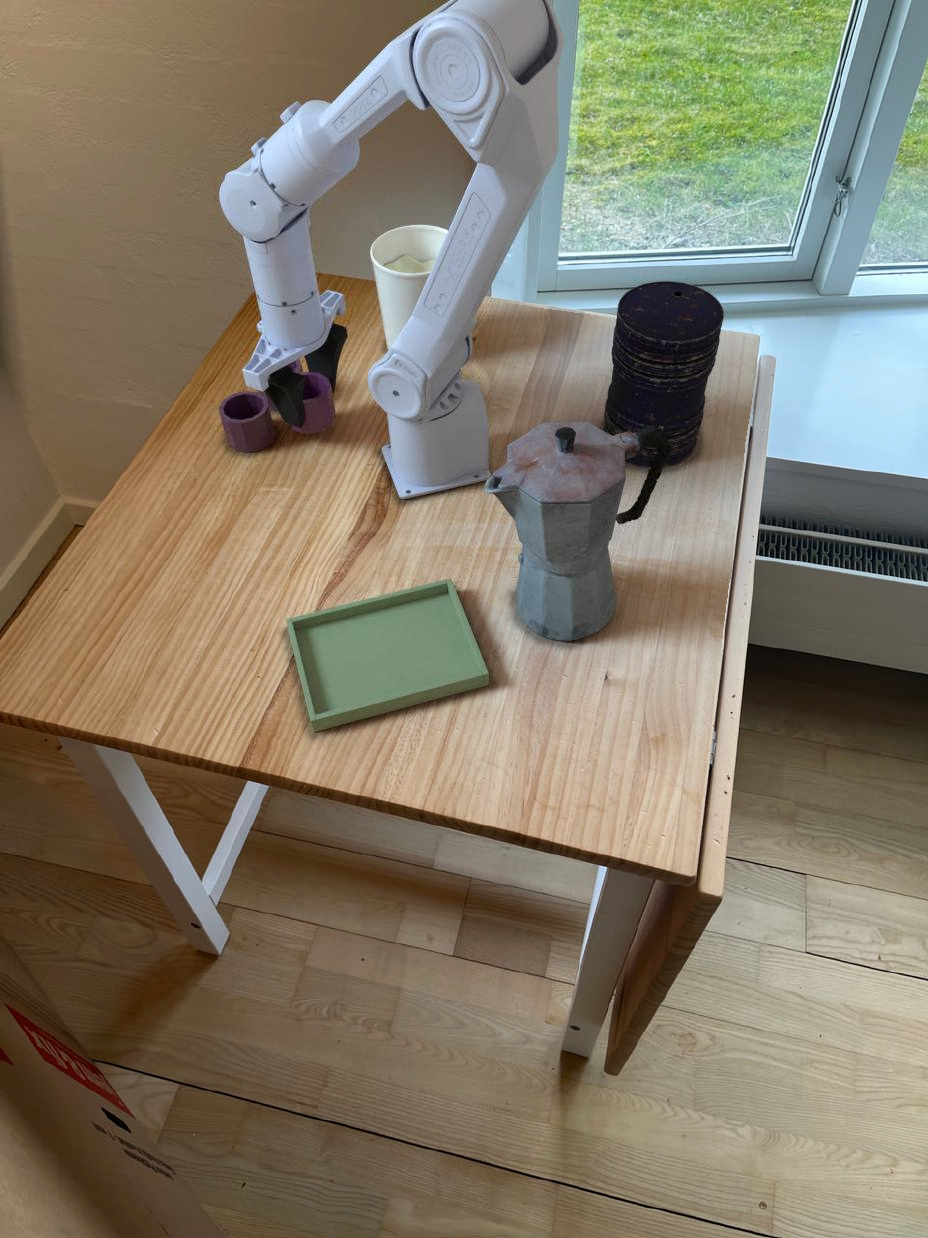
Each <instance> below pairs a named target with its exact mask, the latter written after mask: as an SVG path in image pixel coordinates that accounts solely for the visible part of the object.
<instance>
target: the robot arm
mask: <svg viewBox="0 0 928 1238" xmlns="http://www.w3.org/2000/svg"><path fill="white" fill-rule="evenodd" d="M564 44H565V35H564V33H563V30H562V28H561V25H560V22H559V20H558V17H557V15H556V12H555V9H554V7H553V4H552V2H551V0H448V1H447V2H445V3H444V4H442V5H441V6H439V7H438V8H436V9H434V10H433V11H432V12H430V13H429V14H427V15H426V16H424V17H423V18H421V19H420V20H418V21H416V23H414V24H413V25H411V26H410V27H408V28H407V29H406V30H405V31H403V32H402V33H401V34H400V35H398V36H397V37H395V38H394V39H393V40H391V41H390V42H389V43H388V44H387V45H386V46H385V47H384V48H383V49H382V50H381V51H380V53H378V54H377V56H375V58H373V59H372V61H370V62H369V64H368V65H366V67H365V68H364V69H363V70H362V71H361V72H360V73H359V74H358V76H356V78H355V79H354V80H352V82H351V83H349V85H348V86H347V87H346V88H345V89H344V90H343V91H342V92H340V94H339V95H338V96H337V97H336V99H334V100H333V101H332V102H331V103H330V102H329V101H325V100H320V99H312V100H308V101H306V102H304V103H303V104H301V103H300V102H299V101H295V102H294V103H292V104H291V105H290V106H288V107H287V108H286V109H285V110H284V111H283V112H282V113H281V114H279V115H280V116H279V118H280V120H281V121H282V122H283V124H282V125H281V126H280V127H279V128H278V129H277V130H276V131H275V132H274V133H273V134H272V135H271V136H270V137H269V138H268V139H267V138H266V137H262V138H260V139H259V140H257V141H256V142H255V143H254V144H253V145H252V146H251V148H250V150H251V152H252V154H253V156H252V157H250V158H249V159H248V160H246V161H245V162H244V163H242V164H241V165H240V166H239V167H237V168H236V169H234V170H231V171H228V172H227V173H226V174H225V176H224V179H223V181H222V183H221V185H220V188H219V193H218V195H219V196H218V197H219V203H220V207H221V209H222V212H223V215H224V216H225V218H226V220H227V221H228V223H229V224H230V225H231V226H232V227H233V229H234V230H235V231H237V233H239V234H240V235H242V240H243V243H244V248H245V252H246V257H247V261H248V264H249V269H250V273H251V274H250V275H251V278H252V282H253V287H254V291H255V296H256V300H257V304H258V310H259V313H260V318H261V319H260V320H259V322H258V323H256V328H257V332H258V333H260V334H261V336H260V337H259V340H258V342H257V344H256V346H255V349H254V351H253V353H252V355H251V358H250V359H249V361H248V362H247V364H246V365H245V366H244V367H243V368H242V370H241V371H242V374H243V379H244V383H245V386H246V387H248V388H251V389H252V390H255V391H258V392H259V391H262V392H263V391H264V392H265V393H266V394H267V395H268V396H269V398H270V399H271V400H272V402H273V403H274V405H275V406H276V408H277V410H278V411H277V412H278V413H279V415H280V417H281V418H282V421H283V422H284V424H287V425H288V426H290V425H292V426H295V427H298V428H301V427H302V426H303V425H304V421H305V415H304V407H303V388H304V383H305V380H306V377H307V376H305V375H302V374H298V373H295V372H292V368H291V367H288V364H290V363H292V362H294V361H296V360H298V359H302V358H303V357H304V359H305V362H306V366H307V369H308V372H316V373H321V374H322V375H324V376H326V377H327V378H328V379H329V381H330V384H331V388H332V393H333V394H334V393H335V391H336V385H337V384H336V383H337V376H338V367H339V362H340V358H341V355H342V351H343V349H344V347H345V344H346V342H347V339H348V336H349V335H348V329H347V327H345V326H344V325H342V324H338V323H335V318H336V316H339V317H340V316H342V315H344V314H345V313H346V312H347V307H346V300H345V294H344V293H341V292H338V291H333V290H331V289H326V290H325V291H324V292H323V293H322V294H320V291H319V285H318V280H317V279H318V278H317V274H316V269H315V262H314V256H313V250H312V245H311V237H310V232H309V227H310V226H311V217H310V211H311V207H312V206H313V204H314V203H315V202H316V201H317V200H318V199H320V198H321V197H323V195H324V194H326V193H327V192H328V191H329V190H331V189H332V188H333V187H334V186H335V185H336V184H337V183H339V182H340V181H341V180H342V179H343V178H344V177H346V176H347V175H348V174H350V172H352V171H353V170H354V169H355V168H356V166H357V165H358V163H359V159H360V151H361V149H360V148H361V147H360V141H359V140H361V138H363V137H364V136H365V135H366V134H367V133H369V132H370V131H371V130H372V129H374V128H375V127H376V126H377V125H378V124H380V123H381V122H382V121H384V120H385V119H386V118H387V117H389V115H391V114H392V113H393V112H394V111H396V110H397V109H398V108H399V107H401V106H402V105H403V104H405V103H406V102H407V101H410V102H411V104H413V105H414V106H415V107H417V108H418V110H420V111H428V109H430V108H431V107H432V108H433V109H434V110H435V112H436V113H437V114H438V116H439V117H440V118H441V119H442V121H443V122H444V123H445V126H447V127H448V129H449V130H450V131H451V132H452V134H453V135H454V137H455V138H456V139H457V140H458V142H459V143H460V144H461V145H462V147H463V148H464V149H465V151H466V152H467V154H469V156H470V157H471V159H472V160H473V161H474V162H475V163H477V164H476V167H475V169H474V170H473V173H472V176H471V178H470V180H469V182H468V184H467V187H466V189H465V191H464V194H463V196H462V199H461V201H460V203H459V206H458V208H457V210H456V212H455V215H454V217H453V219H452V222H451V224H450V226H449V229H448V233H447V235H446V238H445V240H444V242H443V244H442V247H441V249H440V251H439V254H438V256H437V258H436V261H435V263H434V265H433V267H432V270H431V272H430V274H429V277H428V279H427V281H426V284H425V286H424V288H423V291H422V293H421V295H420V297H419V300H418V302H417V304H416V307H415V309H414V311H413V314H412V315H411V317H410V319H409V320H408V322H407V323H406V325H405V326H404V328H403V329H402V331H401V332H400V334H399V335H398V337H397V338H396V340H395V341H394V343H393V345H392V346H391V348H390V349H389V350H388V349H387V351H386V353H385V354H384V355H383V356H382V357H381V358H380V359H379V360H378V361H375V362H374V364H372V366H371V367H370V369H369V371H368V373H367V386H368V390H369V392H370V394H371V396H372V398H373V399H374V401H375V402H376V404H377V405H378V406H379V407H380V408H381V409H382V410H383V411H384V413H386V416H387V425H388V435H389V442H390V443H389V444H385V445H383V446H381V453H382V455H383V458H384V461H385V463H386V466H387V468H388V471H389V473H390V476H391V479H392V481H393V484H394V487H395V489H396V493H397V494H398V497H399V498H400V499H401V500H406V499H412V498H416V497H419V496H424V495H428V494H433V493H438V492H442V491H446V490H451V489H454V488H458V487H463V486H467V485H473V484H476V483H480V482H486V481H487V480H488V479H489V478H490V477H491V476H492V472H491V471H490V453H489V452H490V449H489V448H490V446H489V445H490V442H489V441H490V440H489V439H490V436H489V433H490V432H489V417H488V411H487V410H488V409H487V406H486V402H485V397H484V395H483V392H482V390H481V387H480V385H479V383H478V382H477V381H476V380H475V379H467V380H466V379H462V368H463V367H464V366H465V365H466V364H468V362H469V361H470V359H471V357H472V354H473V349H474V347H473V333H474V330H475V328H476V325H477V324H478V319H477V318H476V316H477V314H478V311H479V309H480V308H481V305H482V304H483V302H484V300H485V298H486V297H487V295H488V292H489V290H490V288H491V287H492V285H493V282H494V281H495V278H496V276H497V275H498V273H499V271H500V269H501V268H502V265H503V263H504V261H505V259H506V258H507V256H508V253H509V251H510V249H511V248H512V245H513V243H514V242H515V240H516V237H517V236H518V234H519V232H520V230H521V228H522V226H523V224H524V223H525V220H526V218H527V216H528V214H529V213H530V210H531V209H532V207H533V205H534V203H535V201H536V199H537V197H538V195H539V193H540V192H541V189H542V187H543V185H544V183H545V181H546V179H547V177H548V176H549V174H550V172H551V170H552V168H553V166H554V164H555V162H556V159H557V156H558V153H559V147H560V141H559V140H560V138H559V82H558V79H559V78H558V77H559V75H558V72H559V67H560V61H561V57H562V54H563V53H562V52H563V49H564Z"/></svg>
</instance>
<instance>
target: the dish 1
mask: <svg viewBox="0 0 928 1238" xmlns="http://www.w3.org/2000/svg"><path fill="white" fill-rule="evenodd" d="M218 413H219V417H220V420H221V424H222V427H223V431H224V434H225V438H226V441H227V444H228V445H229V447H230V448H231V449H232V450H235V451H237V452H240V453H256V452H259V451H262V450H264V449H266V448H268V447H269V446H270V445H271V444H272V443H273V441H274V440H275V437H276V430H275V426H274V421H273V417H272V413H271V410H270V408H269V404H268V401H267V398H266V397H265V396H263V395H261V394H260V393H259V391H258V392H257V391H251V390H244V391H240V392H239V391H238V392H234V393H232V394H229V396H227V397H225V398H224V399H222V401H221V403H220V405H219V406H218Z"/></svg>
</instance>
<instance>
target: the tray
mask: <svg viewBox="0 0 928 1238" xmlns="http://www.w3.org/2000/svg"><path fill="white" fill-rule="evenodd" d="M285 622H286V626H287V631H288V634H289V639H290V643H291V647H292V650H293V655H294V659H295V664H296V667H297V672H298V675H299V676H298V677H299V680H300V685H301V688H302V691H303V696H304V700H305V704H306V708H307V712H308V717H309V720H310V724H311V728H312V732H313V733H316V732H320V731H323V730H327V729H331V728H334V727H338V726H343V725H346V724H349V723H353V722H356V721H357V722H358V721H360V720H364V719H367V718H372V717H375V716H379V715H383V714H386V713H390V712H393V711H397V710H401V709H405V708H408V707H409V708H410V707H412V706H416V705H419V704H423V703H427V702H430V701H434V700H439V699H442V698H445V697H449V696H453V695H457V694H461V693H464V692H468V691H471V690H475V689H479V688H482V687H486V686H489V685H490V672H489V670H488V668H487V665H486V662H485V659H484V657H483V655H482V652H481V649H480V647H479V645H478V642H477V640H476V637H475V634H474V632H473V629H472V627H471V625H470V623H469V619H468V616H467V615H466V612H465V610H464V607H463V605H462V602H461V600H460V597H459V595H458V591H457V589H456V587H455V584H454V582H453V580H452V577H449V578H446V579H442V580H437V581H434V582H433V581H432V582H430V583H426V584H421V585H418V586H414V587H409V588H405V589H401V590H398V591H393V592H389V593H384V594H382V595H377V596H373V597H370V598H365V599H361V600H358V601H353V602H350V603H349V602H348V603H345V604H341V605H336V606H334V607H333V606H332V607H330V608H325V609H320V610H316V611H313V612H309V613H305V614H300V615H297V616H292V617H289V618H285Z"/></svg>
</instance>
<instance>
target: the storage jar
mask: <svg viewBox="0 0 928 1238" xmlns="http://www.w3.org/2000/svg"><path fill="white" fill-rule="evenodd" d="M724 318H725V311H724V307H723V305H722V304H721V302H720V301H719V299H717V297H716V296H714V295H713V294H712V293H710V292H709V291H707V290H705V289H703V288H701V287H699V286H696V285H694V284H689V283H686V282H682V281H681V282H680V281H673V280H671V281H668V280H659V281H651V282H646V283H642V284H640V285H637V286H634V287H633V288H631V289H629V290H628V291H626V292H625V293H624V294H623V295H622V296H621V298H620V299H619V301H618V304H617V312H616V319H615V326H614V328H613V335H612V347H611V362H612V366H613V367H612V373H611V382H610V384H609V386H608V389H607V396H606V401H605V404H604V411H603V412H604V413H603V419H604V421H603V422H604V423H603V429H602V430H603V431H605V432H606V433H608V434H610V435H612V436H615V435H616V434H620V433H624V432H627V431H631V432H632V433H636V432H637V431H639V430H641V429H644V428H647V427H649V426H653V427H654V429H655V430H656V431H659V434H660V436H662V435H663V436H665V437H666V440H668V441H670V442H671V444H672V446H673V449H672V451H671V455H670V456H669V459H668V460H667V461H666V463H665V466H664V468H671V467H673V466H676V465H678V464H681V463H682V462H684V461H686V460H687V459H688V458H690V457H691V455H692V454H693V453H694V451H695V449H696V446H697V442H698V436H699V433H700V430H701V428H702V424H703V420H704V416H705V413H704V409H705V405H706V389H707V385H708V380H709V376H710V375H711V374H712V371H713V369H714V367H715V363H716V357H717V355H718V350H719V346H720V342H721V341H720V339H721V338H720V336H721V332H722V327H723V323H724V320H725V319H724ZM656 453H657V450H656V449H655V448H654V447H649V448H646V449H644V450H643V451H641V452H640V453H639V454H638V455H636V456H634V457H631V458H628V459H625V464H629V465H631V466H634V467H636V468H637V467H639V468H642V469H643V468H644V469H650V468H651V467H649V465H650V462H651V461H652V460H653V458H654V457H655V455H656ZM664 468H663V469H664Z"/></svg>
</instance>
